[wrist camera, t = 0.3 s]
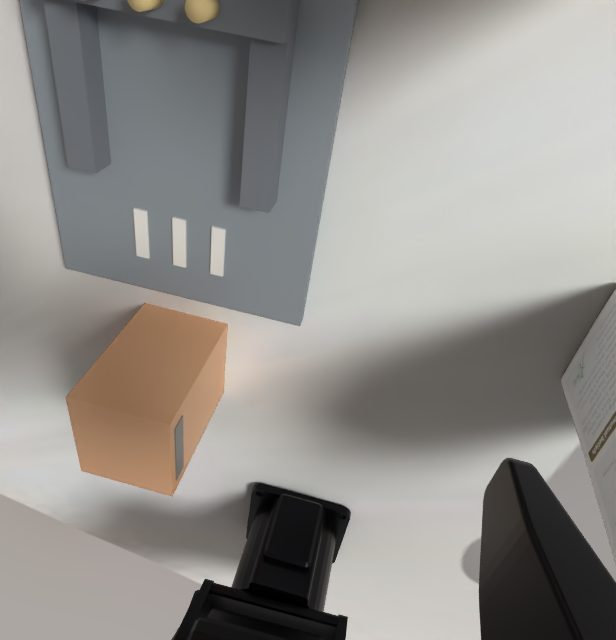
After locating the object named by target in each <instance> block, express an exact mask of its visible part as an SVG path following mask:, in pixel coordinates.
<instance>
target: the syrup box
mask: <svg viewBox="0 0 616 640" xmlns="http://www.w3.org/2000/svg"><path fill="white" fill-rule="evenodd" d="M561 379H562V380H561V384H562V388H563V391H564V394H565V397H566V400H567V403H568V407H569V409H570V412H571V415H572V418H573V421H574V424H575V427H576V431H577V434H578V437H579V441H580V444H581V448H582V451H583V454H584V457H585V461H586V464H587V467H588V471H589V474H590V478H591V481H592V485H593V488H594V492H595V495H596V498H597V502H598V505H599V508H600V512H601V515H602V519H603V522H604V526H605V529H606V532H607V536H608V539H609V543H610V546H611V550H612V553H613V557H614V561H615V564H616V289H615V290H614V292H613V293H612V295H611V297H610V298H609V300H608V301H607V303H606V304H605V306H604V308H603V309H602V311H601V312H600V314H599V315H598V317H597V319H596V320H595V322H594V324H593V326H592V327H591V329H590V330H589V332H588V334H587V336H586V337H585V339H584V341H583V342H582V344H581V346H580V347H579V349H578V351H577V352H576V354H575V356H574V358H573V359H572V361H571V363H570V364H569V366H568V368H567V369H566V371H565V373H564V375H563V376H562V378H561Z"/></svg>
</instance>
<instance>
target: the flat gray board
mask: <svg viewBox="0 0 616 640" xmlns="http://www.w3.org/2000/svg"><path fill="white" fill-rule="evenodd" d="M19 1H20V7H21V13H22V19H23V24H24V30H25V36H26V42H27V48H28V53H29V59H30V65H31V71H32V76H33V82H34V88H35V94H36V100H37V105H38V111H39V117H40V123H41V128H42V134H43V140H44V146H45V151H46V157H47V163H48V169H49V175H50V180H51V186H52V192H53V198H54V203H55V209H56V215H57V221H58V227H59V232H60V238H61V244H62V250H63V255H64V261H65V267H66V268H67V269H71V270H75V271H79V272H83V273H87V274H91V275H95V276H99V277H103V278H107V279H111V280H115V281H119V282H123V283H127V284H131V285H135V286H139V287H143V288H148V289H152V290H156V291H160V292H164V293H168V294H172V295H176V296H180V297H184V298H188V299H192V300H196V301H200V302H204V303H208V304H212V305H216V306H220V307H224V308H228V309H233V310H237V311H241V312H245V313H249V314H253V315H257V316H261V317H265V318H269V319H273V320H277V321H281V322H285V323H289V324H293V325H297V326H300V325H301V322H302V319H303V314H304V309H305V303H306V297H307V291H308V286H309V280H310V274H311V268H312V263H313V257H314V251H315V245H316V240H317V234H318V228H319V222H320V217H321V211H322V205H323V199H324V193H325V188H326V182H327V176H328V170H329V165H330V159H331V153H332V147H333V142H334V136H335V130H336V124H337V119H338V113H339V107H340V101H341V96H342V90H343V84H344V78H345V73H346V67H347V61H348V55H349V50H350V44H351V38H352V32H353V27H354V21H355V15H356V9H357V4H358V0H19Z"/></svg>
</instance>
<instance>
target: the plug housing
mask: <svg viewBox="0 0 616 640" xmlns="http://www.w3.org/2000/svg"><path fill="white" fill-rule="evenodd" d="M227 329H228V324H226V323H222V322H218V321H214V320H210V319H206V318H202V317H198V316H194V315H190V314H186V313H182V312H178V311H174V310H170V309H166V308H162V307H158V306H154V305H150V304H146V303H145V304H144V305H143V306H142V307H141V308H140V309H139V311H138V312H137V313H136V314H135V315H134V317H133V318H132V319H131V320H130V321H129V322H128V324H127V325H126V326H125V327H124V328H123V330H122V331H121V332H120V333H119V334H118V336H117V337H116V338H115V339H114V340H113V341H112V343H111V344H110V345H109V346H108V347H107V349H106V350H105V351H104V352H103V353H102V355H101V356H100V357H99V358H98V359H97V360H96V362H95V363H94V364H93V365H92V366H91V368H90V369H89V370H88V371H87V372H86V373H85V375H84V376H83V377H82V378H81V379H80V381H79V382H78V383H77V384H76V385H75V387H74V388H73V389H72V390H71V391H70V392H69V394H68V395H67V396H66V401H67V406H68V411H69V415H70V420H71V425H72V429H73V434H74V439H75V443H76V448H77V453H78V458H79V462H80V467H81V471H84V472H87V473H91V474H94V475H98V476H101V477H105V478H108V479H112V480H116V481H119V482H123V483H126V484H130V485H133V486H137V487H140V488H144V489H148V490H151V491H155V492H158V493H162V494H165V495H169V496H173V494H174V492H175V490H176V488H177V486H178V484H179V482H180V480H181V478H182V476H183V474H184V472H185V470H186V468H187V466H188V464H189V462H190V460H191V458H192V456H193V454H194V452H195V449H196V447H197V445H198V443H199V441H200V439H201V437H202V435H203V433H204V431H205V429H206V427H207V425H208V423H209V421H210V419H211V417H212V415H213V413H214V411H215V409H216V407H217V405H218V403H219V401H220V399H221V397H222V395H223V393H224V379H225V362H226V346H227Z"/></svg>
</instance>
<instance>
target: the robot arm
mask: <svg viewBox="0 0 616 640" xmlns="http://www.w3.org/2000/svg"><path fill="white" fill-rule="evenodd" d="M350 515H351V512H350V510H349V509H348V508H345V507H342V506H338V505H335V504H331V503H327V502H324V501H320V500H317V499H313V498H309V497H306V496H302V495H298V494H295V493H291V492H287V491H284V490H280V489H276V488H273V487H269V486H266V485H262V484H256V485H255V486H254V488H253V491H252V497H251V504H250V512H249V519H248V527H247V535H246V538H247V542H246V545H245V548H244V551H243V554H242V557H241V560H240V563H239V566H238V569H237V572H236V575H235V578H234V581H233V584H232V587H227V586H224V585H220V584H216V583H214V581H212V580H208V579H205V580H204V582H203V584H202V586H201V588H200V590H197V591H195V593H194V595H193V598H192V601H191V603H190V606H189V608H188V611H187V613H186V615H185V617H184V619H183V621H182V623H181V625H180V627H179V628H178V630H177V632H176V633H175V635H174V637H173V638H172V640H345V638H346V629H347V619H348V617H347V616H343V615H338V616H336V615H332V614H329V613H325V612H323V611H324V605H325V600H326V594H327V588H328V583H329V577H330V571H331V566H332V563H334V562H335V560H336V557H337V554H338V551H339V548H340V545H341V543H342V540H343V537H344V534H345V531H346V528H347V526H348V523H349V520H350ZM479 609H480V626H481V640H616V582H615V581H614V579H613V578H612V576H611V575H610V573H609V572H608V571H607V569H606V568H605V567H604V565H603V564H602V562H601V561H600V559H599V558H598V556H597V555H596V553H595V552H594V551H593V549H592V548H591V546H590V545H589V543H588V542H587V541H586V539H585V538H584V536H583V535H582V533H581V532H580V531H579V529H578V528H577V526H576V525H575V523H574V522H573V521H572V519H571V518H570V516H569V515H568V513H567V512H566V511H565V509H564V508H563V506H562V505H561V503H560V502H559V501H558V499H557V498H556V496H555V495H554V493H553V492H552V491H551V489H550V488H549V486H548V485H547V483H546V482H545V481H544V479H543V478H542V476H541V475H540V473H539V472H538V471H537V469H536V468H535V467H534V466H533V465H532V464H530V463H528V462H524V461H520V460H516V459H513V458H506V459H505V460H503V462H502V463H501V464H500V466H499V468H498V469H497V471H496V473H495V474H494V476H493V478H492V479H491V481H490V483H489V484H488V486H487V488H486V490H485V494H484V500H483V517H482V536H481V555H480V573H479Z"/></svg>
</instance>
